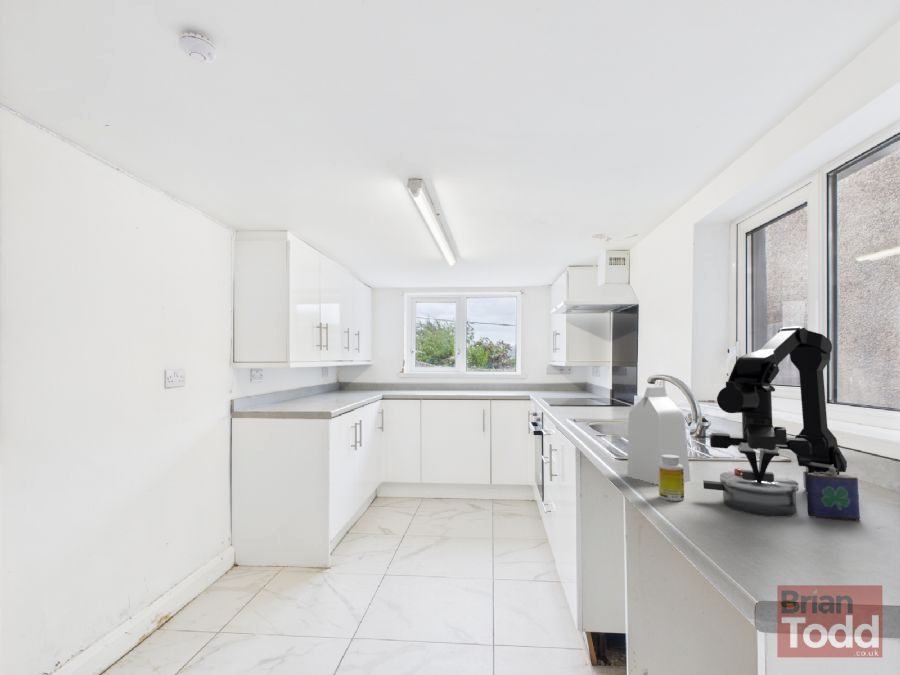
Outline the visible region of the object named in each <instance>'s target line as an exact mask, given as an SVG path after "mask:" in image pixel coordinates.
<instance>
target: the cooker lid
mask: <svg viewBox="0 0 900 675" xmlns="http://www.w3.org/2000/svg"><path fill="white" fill-rule="evenodd" d="M719 482H722V483H723V484H725V485H728V486H731V487H734V488H738V489H743V490H748V491H755V492H763V493H793V492H796V493H797V492H798V491H799V482H798V481H797V480H794V479H792V478H789V477H786V476H782V475H778V474H777V475H776V474H774V472H772V471H766V472H765V475H764V477H763V480H762V483H758V482H757V481H756V478H755V476H754V473H753V470H752V469H751V470H749V469H742V468H734V471H725V472H721V473H720V474H719Z"/></svg>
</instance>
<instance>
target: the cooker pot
mask: <svg viewBox="0 0 900 675" xmlns="http://www.w3.org/2000/svg"><path fill="white" fill-rule="evenodd" d="M702 484H703V489H705V490H711V491H712V490H714V491H722V497H723V498H722V501H723V502H722V503H723V504H724V505H725V506H726V507H728V508H730V509H732V510H734V511H738V512H742V513H746V514H749V513H750V515H755V514H756V516H761V515H763V516H762V517H771V516H787V517H793V516H795V515H797V513H798V512H797V511H798V510H797V492H793V493H763V492H755V491H748V490H743V489H738V488H734V487H731V486H728V485H725V484H723V483H722V482H721V481H714V480H713V481H712V480H703V482H702ZM792 515H793V516H792Z"/></svg>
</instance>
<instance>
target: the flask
mask: <svg viewBox="0 0 900 675" xmlns="http://www.w3.org/2000/svg"><path fill="white" fill-rule="evenodd" d="M829 468H830V469H829V471H827V472H825V473H824V472H819V473H823V474H819V473H817V472H816V471H815V472H814V473H807V474H806V485H807V490H806V500H807V515H808V516H809V517H810V516H811V518H815V517H816V519H822V518H825V520H832V519H833V520H835V519H836V520H839V521H854V522H855V521H860V519H861V515H860V514H861V513H860V501H859V500H860V496H859V495H860V494H859V480H858V479H859V478H858V477H857V476H855V475H849V474H843V475H841V474H839V475H837V472H836V470H838V469H835V468H834V467H829Z"/></svg>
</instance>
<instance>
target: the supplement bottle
mask: <svg viewBox="0 0 900 675" xmlns="http://www.w3.org/2000/svg"><path fill="white" fill-rule="evenodd" d="M679 463H680V460H679V456H676V455H662V463H659V465H658V476H659V485H658V495H659V498H661V499H662V500H665V501H669V500H670V501H671V502H681V501H683V500H684V499H685V482H684V474H683V466H682V465H681V464H679Z"/></svg>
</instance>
